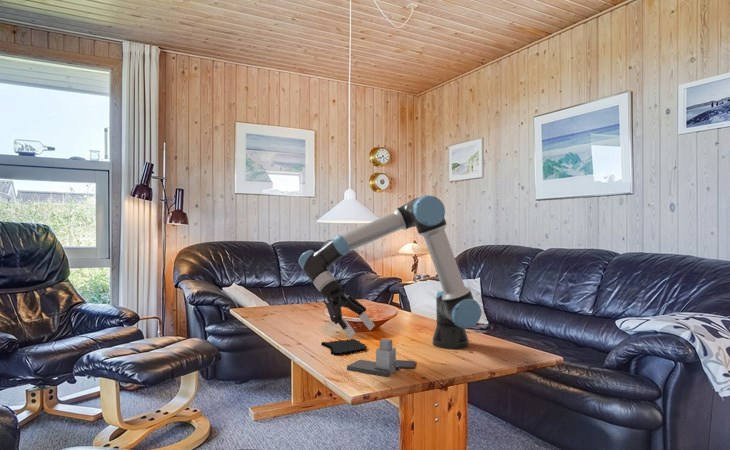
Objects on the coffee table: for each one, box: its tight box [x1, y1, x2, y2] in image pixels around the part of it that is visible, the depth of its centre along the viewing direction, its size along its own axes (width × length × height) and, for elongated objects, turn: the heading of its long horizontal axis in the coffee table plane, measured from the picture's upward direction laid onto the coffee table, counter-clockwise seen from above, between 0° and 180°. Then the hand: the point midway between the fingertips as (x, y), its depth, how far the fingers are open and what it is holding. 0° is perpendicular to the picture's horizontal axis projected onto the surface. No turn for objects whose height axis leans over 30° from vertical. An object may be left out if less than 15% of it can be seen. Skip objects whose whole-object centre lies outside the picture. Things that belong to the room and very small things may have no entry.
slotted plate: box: [346, 359, 401, 378], centre depth 157 cm, size 16×9×1 cm, turn 60°
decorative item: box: [321, 338, 368, 357], centre depth 187 cm, size 23×2×20 cm
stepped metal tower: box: [375, 338, 397, 376], centre depth 155 cm, size 5×5×11 cm
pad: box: [396, 359, 416, 370], centre depth 162 cm, size 8×8×1 cm
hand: (363, 331), depth 159 cm, fingers open, 13 cm apart
